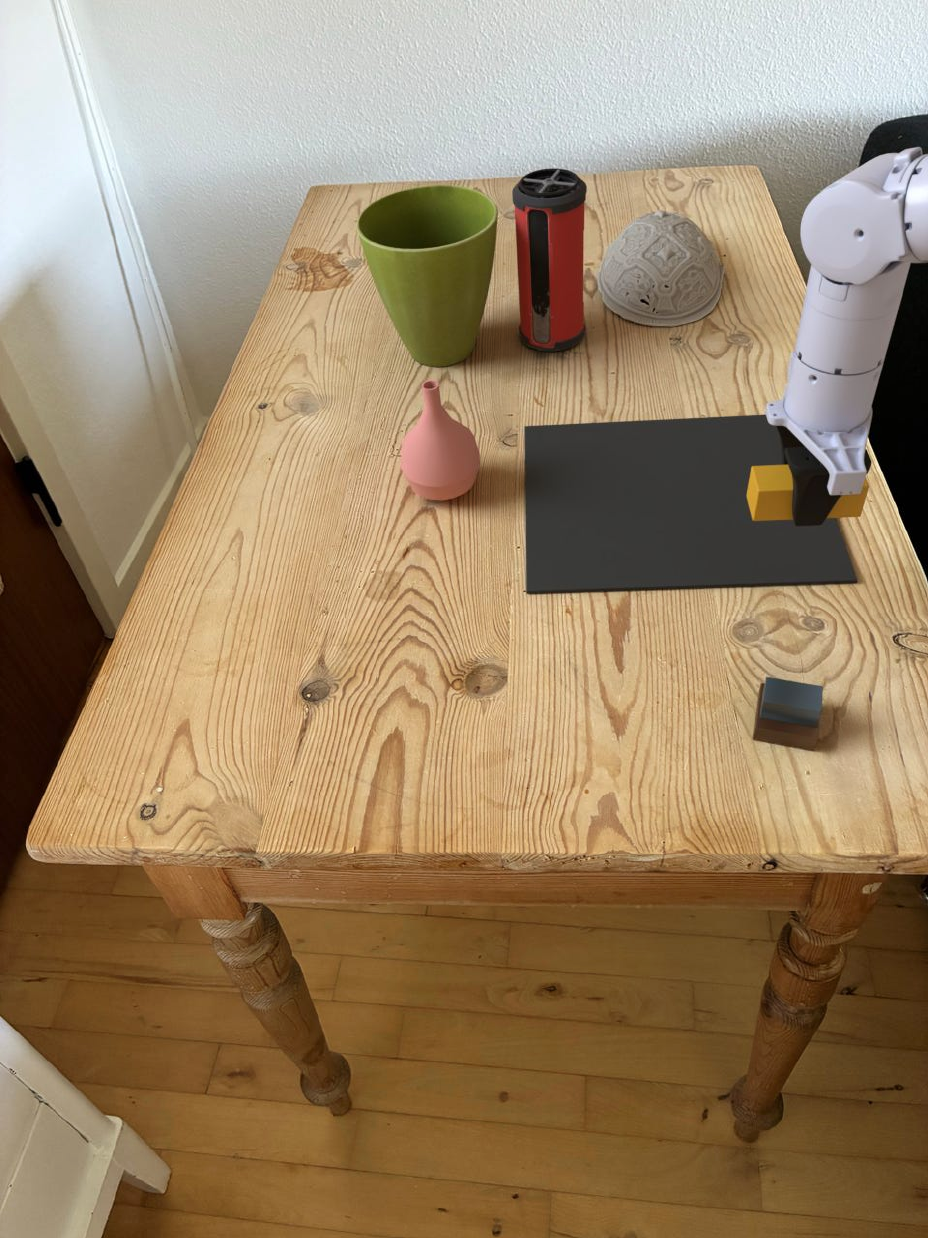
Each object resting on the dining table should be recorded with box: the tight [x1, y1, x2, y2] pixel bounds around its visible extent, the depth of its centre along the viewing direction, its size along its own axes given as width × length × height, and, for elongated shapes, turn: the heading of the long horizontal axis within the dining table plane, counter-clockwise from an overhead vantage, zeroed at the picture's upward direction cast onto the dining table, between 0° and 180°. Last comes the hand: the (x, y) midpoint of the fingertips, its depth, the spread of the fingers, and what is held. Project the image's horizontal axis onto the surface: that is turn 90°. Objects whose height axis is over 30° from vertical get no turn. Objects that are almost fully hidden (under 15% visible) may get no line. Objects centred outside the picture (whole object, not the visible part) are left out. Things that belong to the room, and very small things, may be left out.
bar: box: [747, 465, 870, 521], centre depth 71 cm, size 8×3×3 cm, turn 88°
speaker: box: [511, 167, 588, 353], centre depth 103 cm, size 8×8×18 cm
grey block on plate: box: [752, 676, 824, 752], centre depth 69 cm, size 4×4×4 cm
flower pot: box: [355, 184, 499, 368], centre depth 104 cm, size 15×15×16 cm
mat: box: [524, 413, 859, 595], centre depth 89 cm, size 28×24×1 cm
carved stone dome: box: [596, 209, 726, 328], centre depth 116 cm, size 16×25×7 cm, turn 172°
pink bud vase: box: [400, 379, 481, 501], centre depth 88 cm, size 8×8×12 cm
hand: (802, 506), depth 72 cm, fingers closed on bar, 3 cm apart
